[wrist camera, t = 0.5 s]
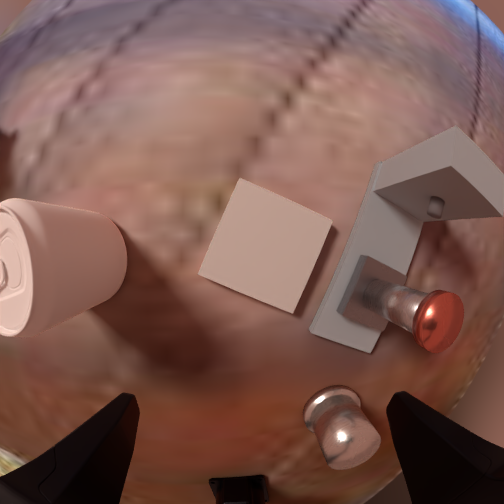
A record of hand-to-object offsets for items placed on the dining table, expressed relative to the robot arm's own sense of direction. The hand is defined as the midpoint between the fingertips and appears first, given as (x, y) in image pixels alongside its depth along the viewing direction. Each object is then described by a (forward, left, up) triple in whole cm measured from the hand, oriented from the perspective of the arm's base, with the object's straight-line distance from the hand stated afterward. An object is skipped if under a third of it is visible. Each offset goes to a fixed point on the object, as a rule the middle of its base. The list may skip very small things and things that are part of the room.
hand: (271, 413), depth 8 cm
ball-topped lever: (0, -10, -13) cm, 16 cm away
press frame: (+5, -7, -14) cm, 17 cm away
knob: (-12, -7, -15) cm, 20 cm away
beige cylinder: (+6, +13, -15) cm, 21 cm away
